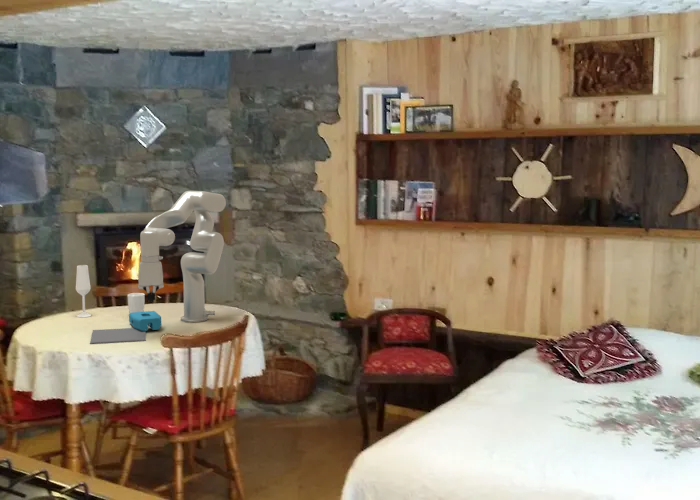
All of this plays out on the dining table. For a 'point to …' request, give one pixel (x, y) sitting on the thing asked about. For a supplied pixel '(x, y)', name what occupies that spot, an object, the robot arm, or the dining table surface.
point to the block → (145, 320)
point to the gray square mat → (117, 335)
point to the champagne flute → (83, 286)
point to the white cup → (136, 302)
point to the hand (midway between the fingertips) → (151, 301)
